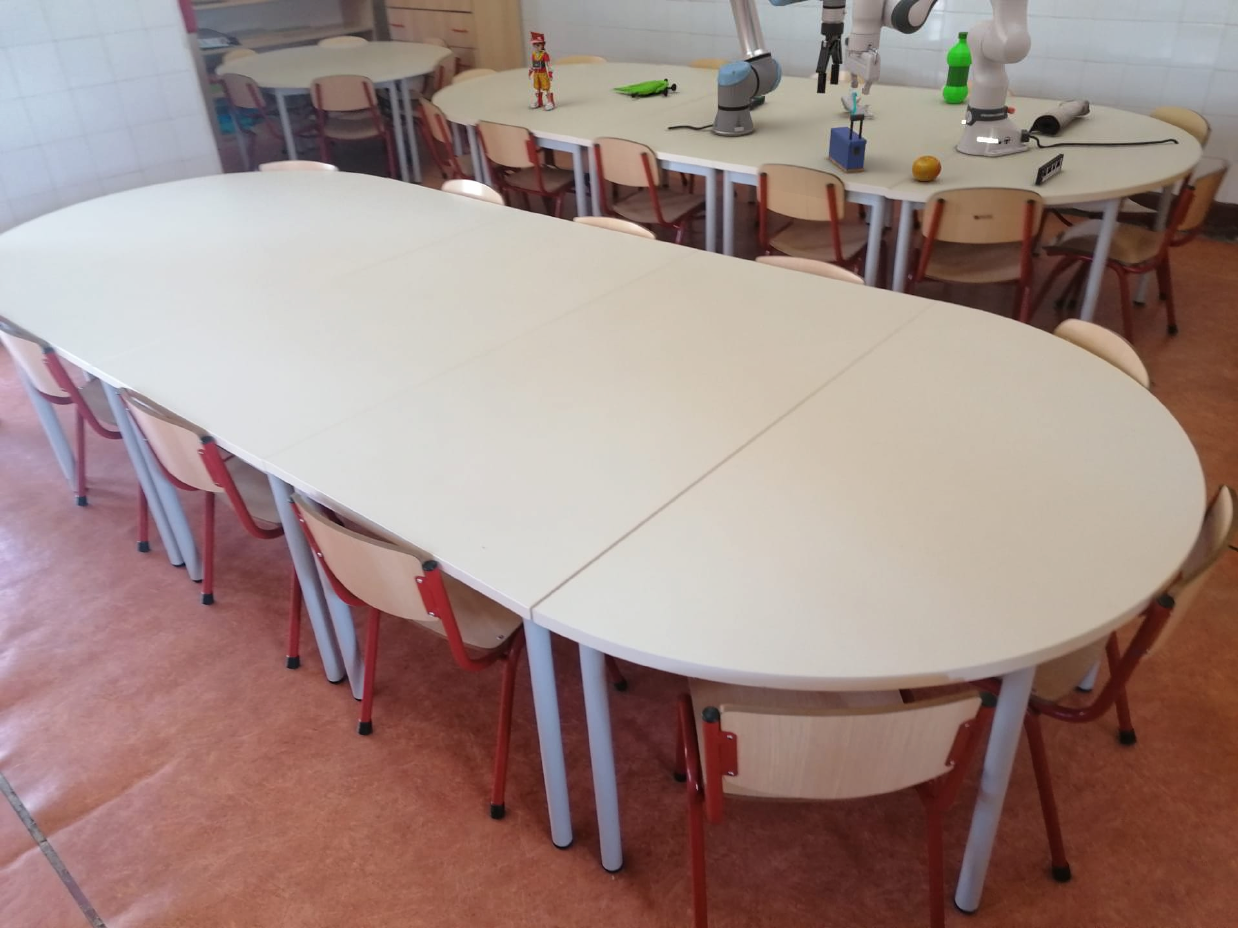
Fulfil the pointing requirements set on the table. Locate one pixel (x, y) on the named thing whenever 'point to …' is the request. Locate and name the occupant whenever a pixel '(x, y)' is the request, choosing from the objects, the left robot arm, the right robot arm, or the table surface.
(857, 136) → the lid
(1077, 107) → the rolled mat
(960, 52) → the plastic bottle
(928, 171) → the fruit
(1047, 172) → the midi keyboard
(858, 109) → the anatomical model
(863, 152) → the chest
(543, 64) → the toy
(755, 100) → the disk drive
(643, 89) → the toy
